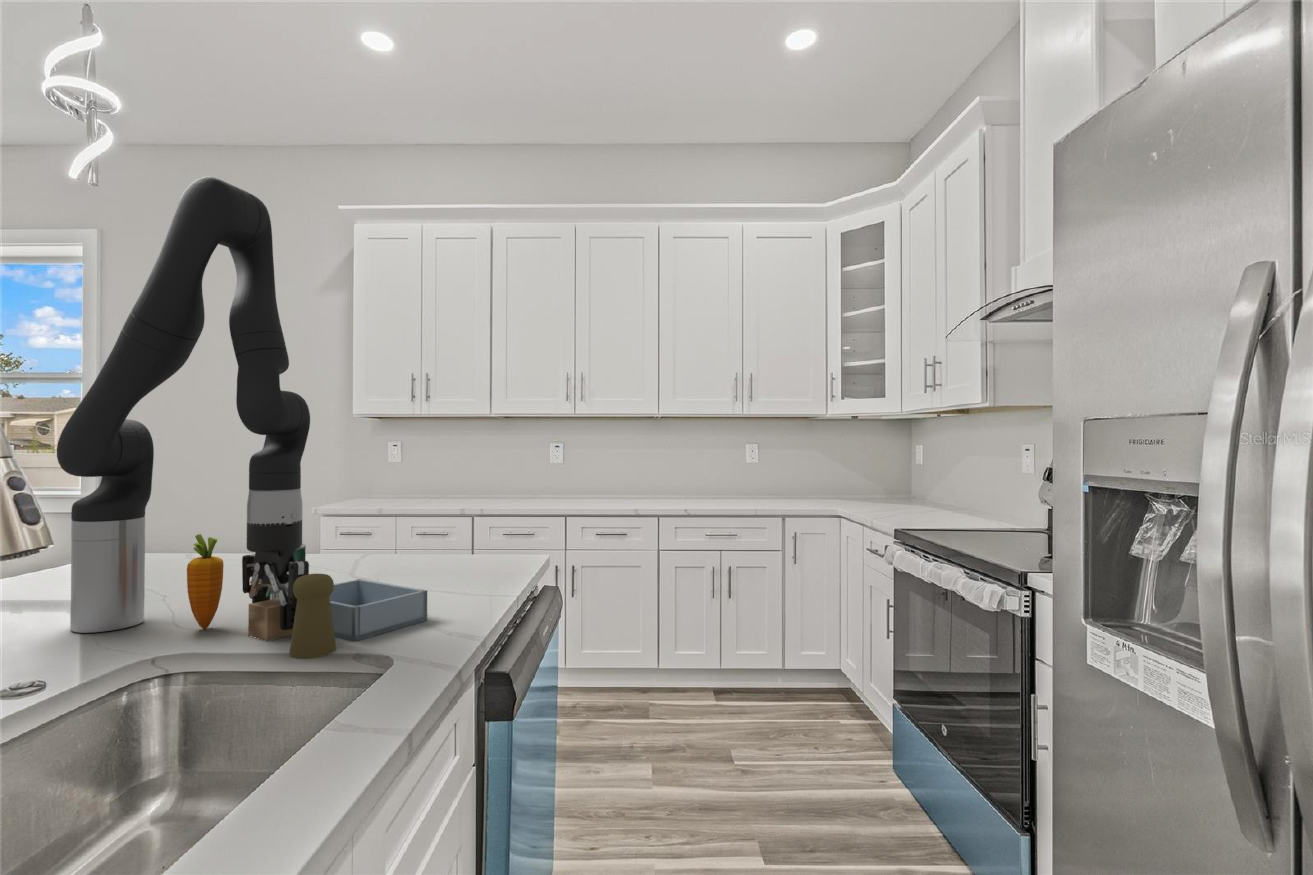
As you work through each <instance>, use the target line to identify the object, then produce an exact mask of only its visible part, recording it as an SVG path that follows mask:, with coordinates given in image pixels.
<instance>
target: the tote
mask: <svg viewBox="0 0 1313 875" xmlns="http://www.w3.org/2000/svg"><path fill="white" fill-rule="evenodd" d="M286 595H287V597H288V593H287V594H286ZM329 598H330V605H331V613H332V620H333V627H334V635H335V638H336V637H337V638H341V639H344V640H348V641H352V642H357V641H360V640H361V641H362V640H364V639H368V638H371V637H375V636H379V635H382V634H385V633H389V632H392V631H395V630H398V629H399V630H400V629H403V628H407V627H409V626H410V627H411V626H413V625H416V624H420V623H423V622H427V621H428V590H427V589H426V590H425V589H420V588H414V587H408V586H402V585H397V584H391V583H385V582H379V581H373V580H367V579H364V578H362V579H361V578H358V579H357V578H356V579H352V580H347V581H344V582H338V583H334V589H333V592H332V593H331V595H330V596H329Z"/></svg>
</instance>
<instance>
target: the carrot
mask: <svg viewBox="0 0 1313 875" xmlns="http://www.w3.org/2000/svg"><path fill="white" fill-rule="evenodd" d="M194 537H195V539H196V541H197V542H196V543H193V545H194V547H192V548H193V550H194V551H195V552H196V553H198V555H199V556H200V557H195V558H192V559H191V560H190V561H189V562H188V563H187V565H186V584H187V586H186V588H187V595H188V601H189V605H190V608H191V609H190V610H191V612H192V615H193V618H194V619H195V621H196V622H197V624H198V626H199V627H200V628H201V629H203V630H206V629H208V627H209V626H211V623H212V621H213V620H214V617H215V615H216V612H217V610H218V608H219V605H220V601H221V600H220V599H221V595H222V590H223V582H224V581H223V580H224V561H223V558H220V557H219V556H212V554H213V551H214V548H215V546H216V544H217V543H218V540H219V539H218V538H215V537H214V538H213V537H208V538H207V543H208V546H207V543H206V541H205V539H204V538H203V536H202V534H201V533H200V534H196V535H195V536H194Z"/></svg>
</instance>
